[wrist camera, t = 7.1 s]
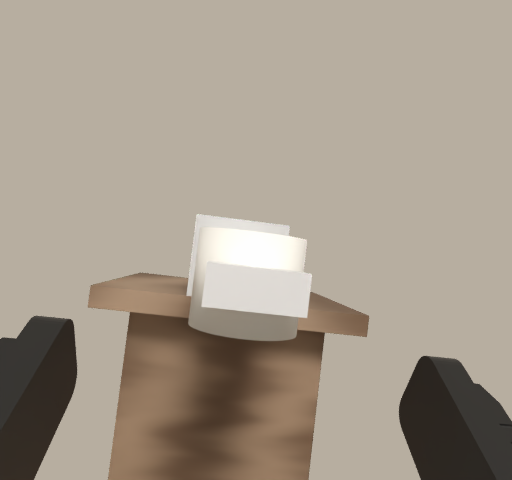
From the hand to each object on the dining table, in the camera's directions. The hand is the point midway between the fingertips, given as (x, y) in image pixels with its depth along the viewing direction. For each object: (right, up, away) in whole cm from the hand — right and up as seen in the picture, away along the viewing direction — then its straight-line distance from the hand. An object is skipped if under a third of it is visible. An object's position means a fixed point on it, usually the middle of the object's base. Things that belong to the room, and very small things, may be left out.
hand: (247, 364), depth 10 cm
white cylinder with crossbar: (-1, 0, +10) cm, 10 cm away
